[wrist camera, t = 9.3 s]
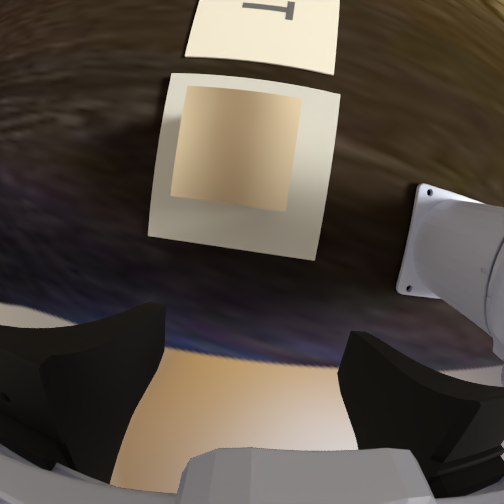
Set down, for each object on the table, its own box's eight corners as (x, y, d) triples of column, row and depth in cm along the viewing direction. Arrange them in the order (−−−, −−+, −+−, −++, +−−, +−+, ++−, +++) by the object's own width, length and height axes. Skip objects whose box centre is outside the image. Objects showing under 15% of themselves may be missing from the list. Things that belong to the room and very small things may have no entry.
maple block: (288, 124, 18) (302, 98, 12) (277, 202, 19) (285, 211, 13) (209, 114, 17) (187, 85, 12) (197, 191, 19) (170, 196, 13)
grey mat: (338, 96, 18) (340, 94, 17) (313, 258, 20) (314, 260, 19) (174, 76, 17) (171, 73, 17) (150, 234, 20) (147, 236, 19)
